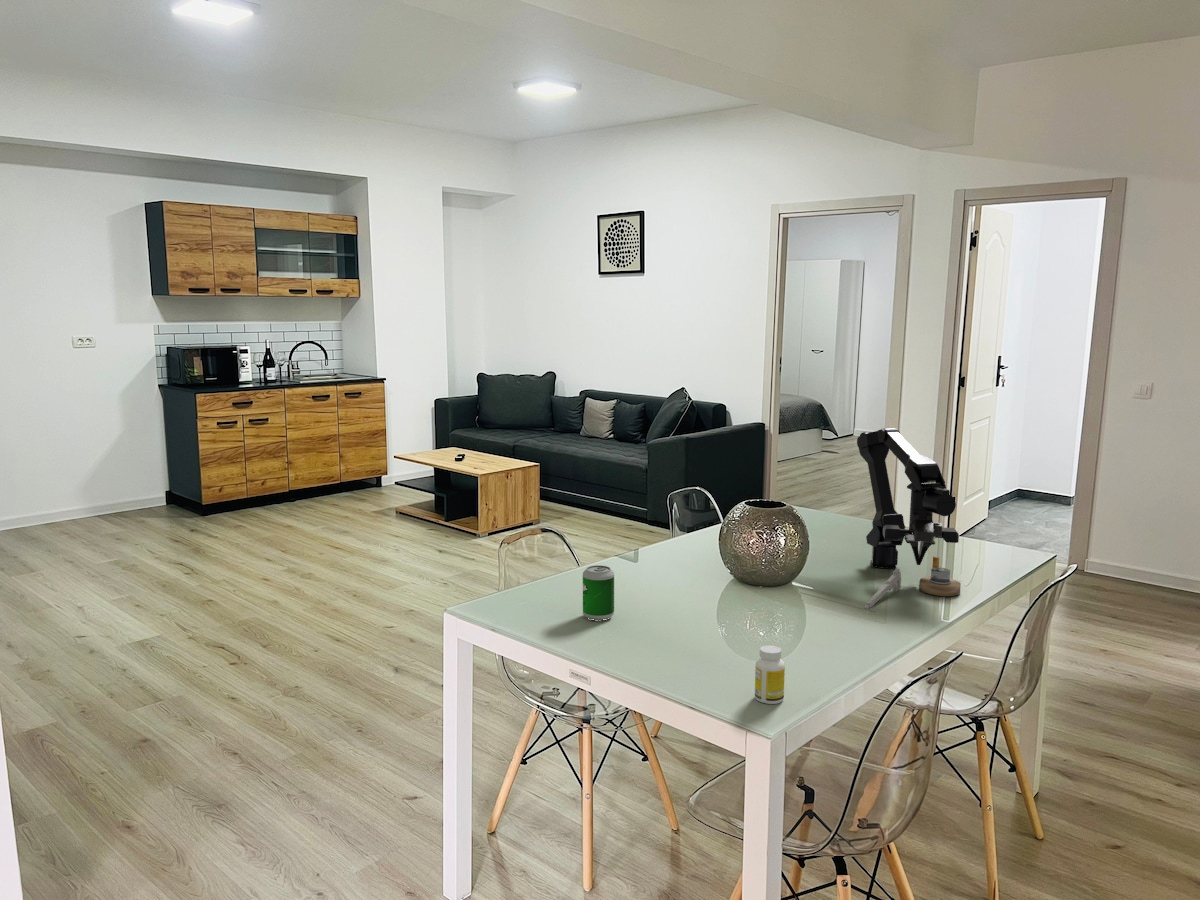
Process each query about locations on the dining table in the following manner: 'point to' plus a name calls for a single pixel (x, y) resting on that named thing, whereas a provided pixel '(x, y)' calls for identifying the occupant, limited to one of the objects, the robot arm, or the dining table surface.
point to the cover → (940, 576)
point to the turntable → (939, 589)
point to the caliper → (886, 588)
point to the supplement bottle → (769, 676)
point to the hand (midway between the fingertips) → (918, 564)
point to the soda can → (598, 592)
